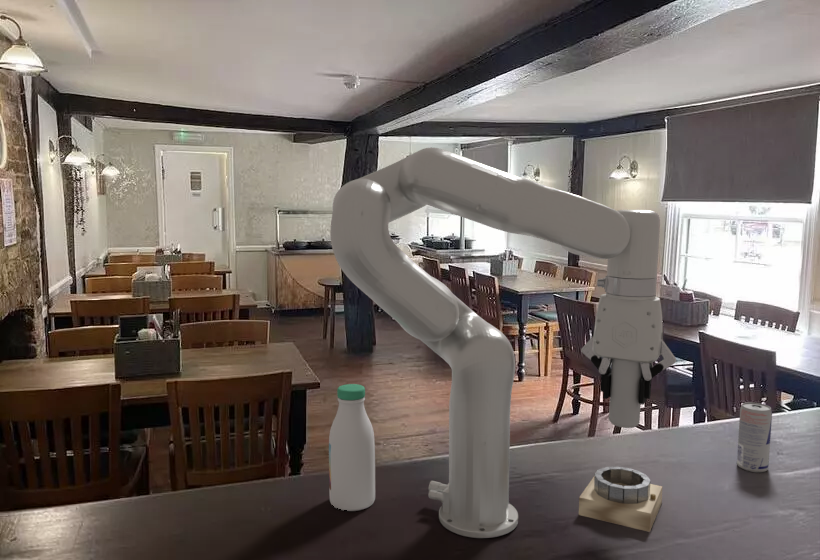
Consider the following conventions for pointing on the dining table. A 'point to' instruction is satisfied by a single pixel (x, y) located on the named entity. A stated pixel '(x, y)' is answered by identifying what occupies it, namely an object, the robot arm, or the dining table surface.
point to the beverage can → (625, 393)
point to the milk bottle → (351, 452)
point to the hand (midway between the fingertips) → (624, 398)
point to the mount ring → (620, 493)
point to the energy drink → (754, 437)
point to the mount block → (621, 508)
